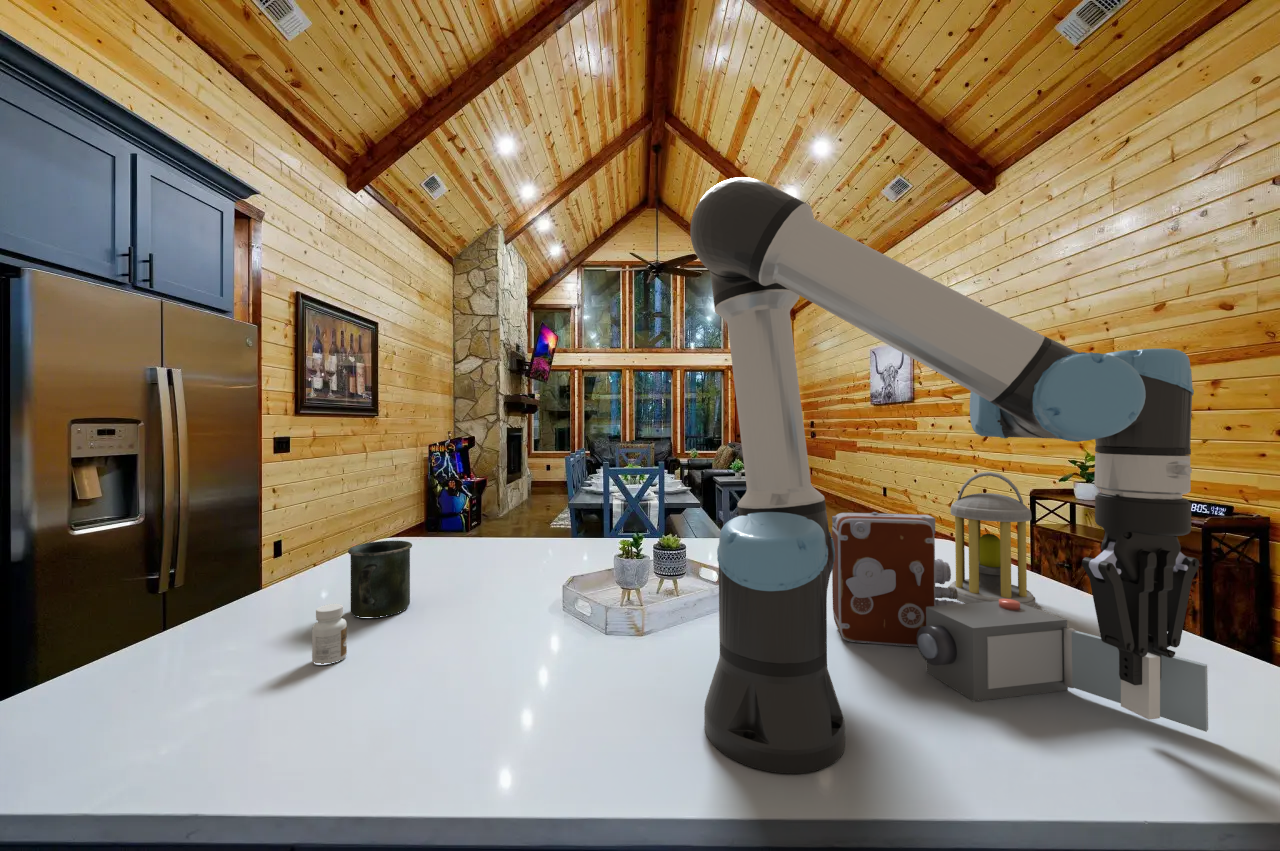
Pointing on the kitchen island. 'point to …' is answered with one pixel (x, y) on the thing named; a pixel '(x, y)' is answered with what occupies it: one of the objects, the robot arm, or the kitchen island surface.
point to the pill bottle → (329, 634)
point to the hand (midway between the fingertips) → (1139, 711)
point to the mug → (380, 578)
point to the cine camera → (886, 576)
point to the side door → (1099, 674)
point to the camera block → (994, 649)
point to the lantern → (990, 546)
